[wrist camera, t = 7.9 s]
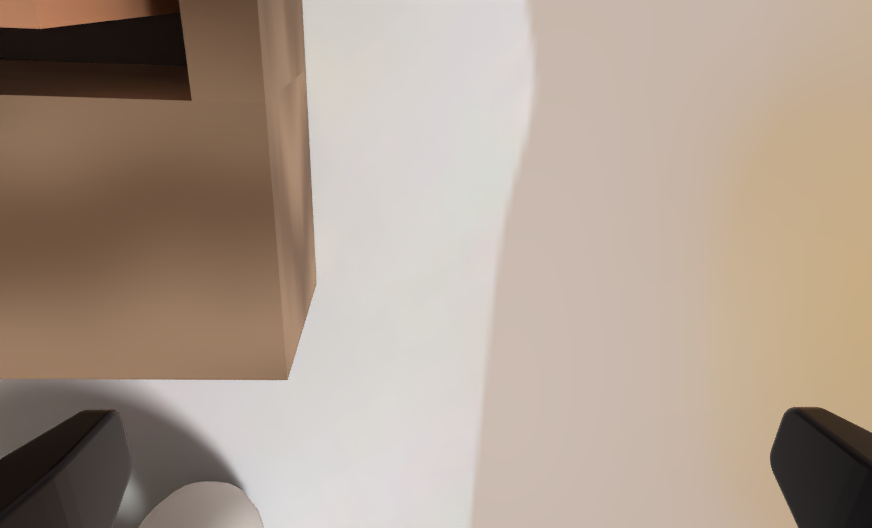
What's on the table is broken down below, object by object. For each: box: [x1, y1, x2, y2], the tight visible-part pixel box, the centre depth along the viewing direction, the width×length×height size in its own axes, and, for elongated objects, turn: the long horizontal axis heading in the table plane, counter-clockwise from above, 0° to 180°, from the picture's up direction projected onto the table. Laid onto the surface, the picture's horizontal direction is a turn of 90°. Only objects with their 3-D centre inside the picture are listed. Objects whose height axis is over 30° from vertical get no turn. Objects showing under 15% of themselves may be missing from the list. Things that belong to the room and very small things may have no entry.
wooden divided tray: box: [0, 0, 316, 380], centre depth 13 cm, size 16×12×7 cm
